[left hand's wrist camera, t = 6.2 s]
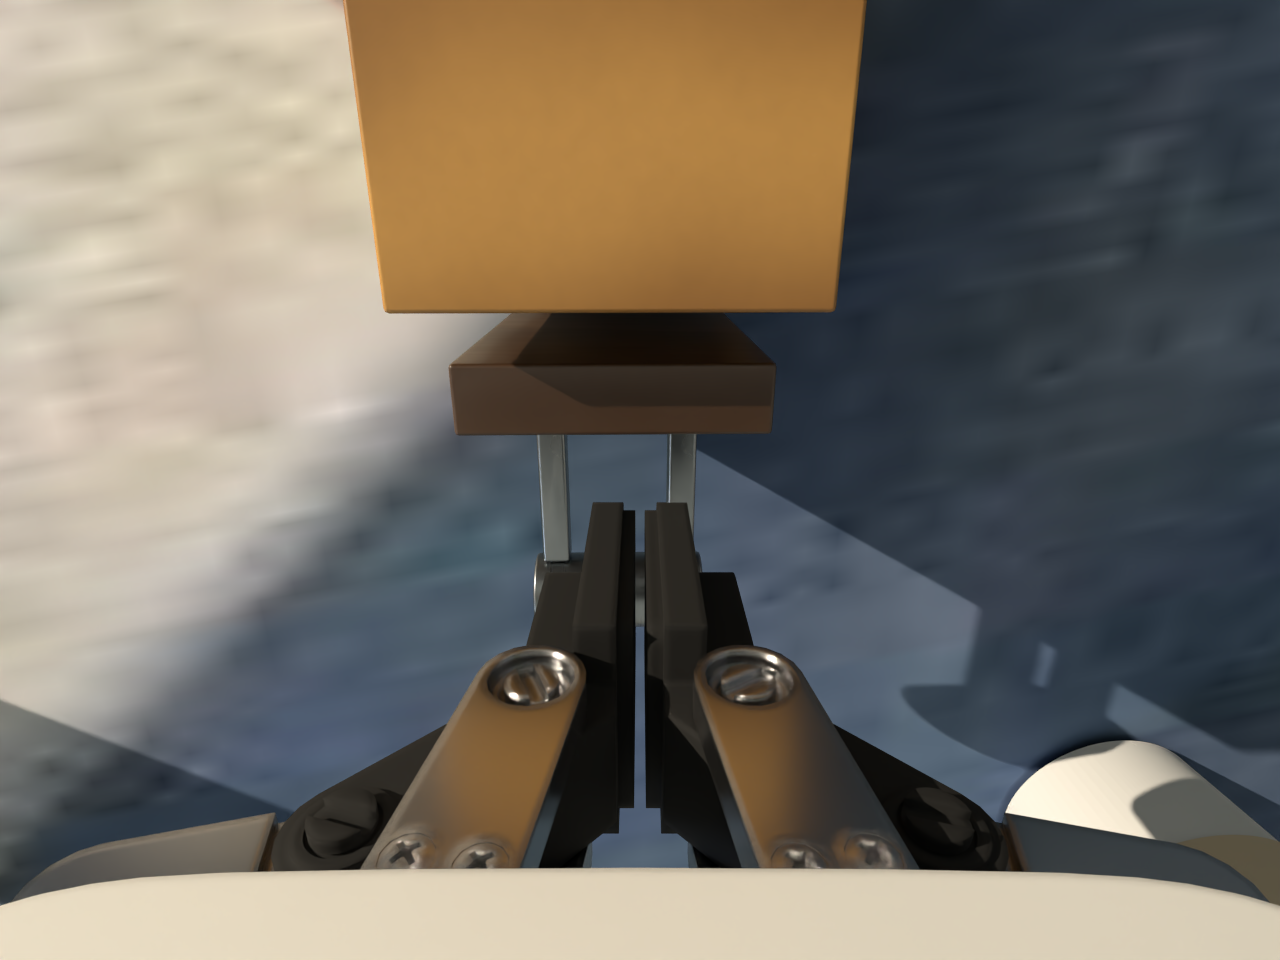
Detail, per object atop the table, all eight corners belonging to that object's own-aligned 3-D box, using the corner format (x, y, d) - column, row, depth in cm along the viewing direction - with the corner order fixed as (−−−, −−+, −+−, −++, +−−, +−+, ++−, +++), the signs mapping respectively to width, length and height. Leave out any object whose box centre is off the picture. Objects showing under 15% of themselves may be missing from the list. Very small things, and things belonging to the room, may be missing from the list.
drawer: (711, 554, 20) (752, 710, 13) (528, 555, 20) (482, 714, 13) (765, -700, 11) (938, -1842, 5) (445, -709, 11) (217, -1880, 5)
